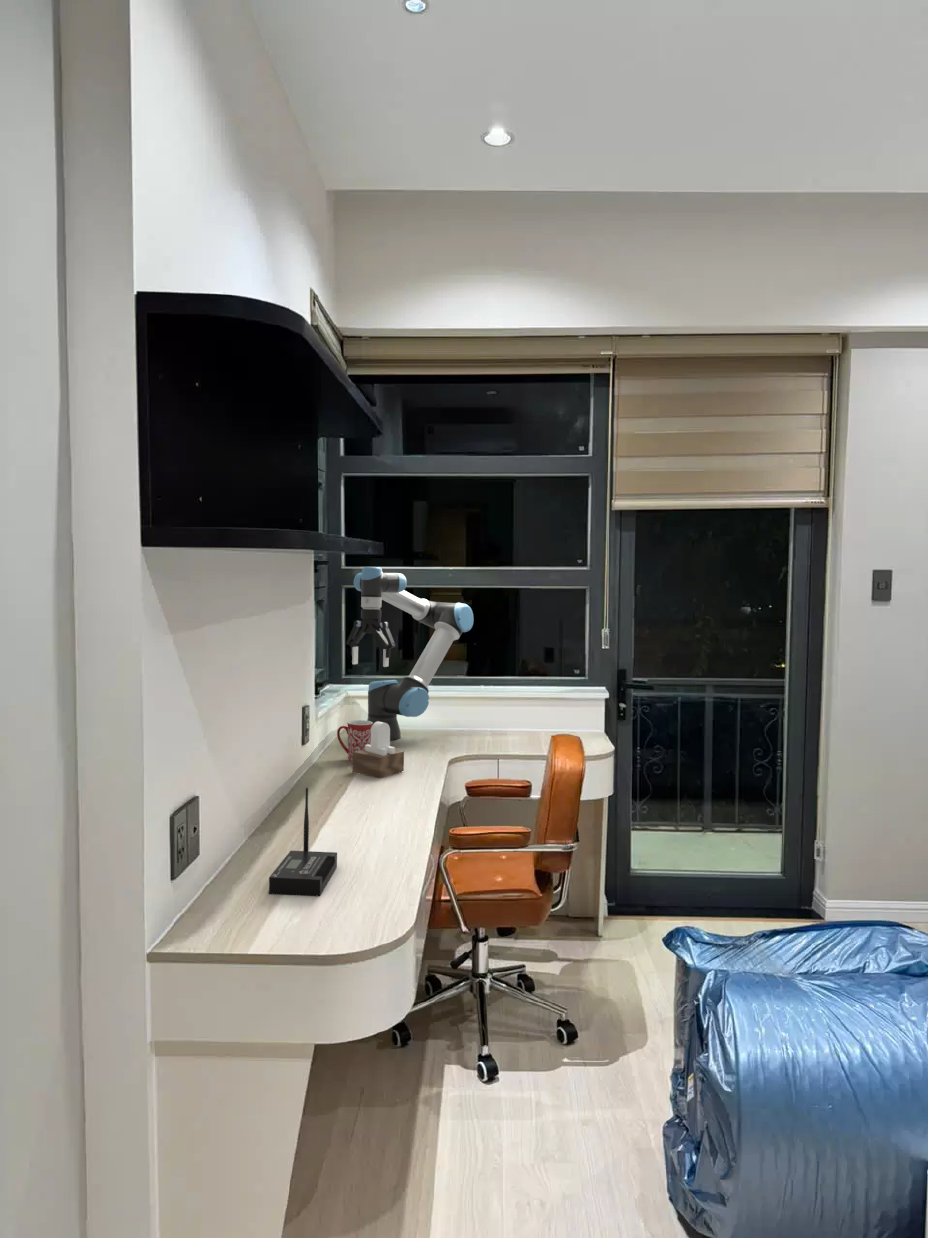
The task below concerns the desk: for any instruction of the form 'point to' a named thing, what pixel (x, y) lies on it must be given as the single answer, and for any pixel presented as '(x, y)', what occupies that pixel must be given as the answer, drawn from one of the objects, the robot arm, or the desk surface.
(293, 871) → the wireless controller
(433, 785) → the desk surface
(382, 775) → the walnut block
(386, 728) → the cable organizer
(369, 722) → the mug
